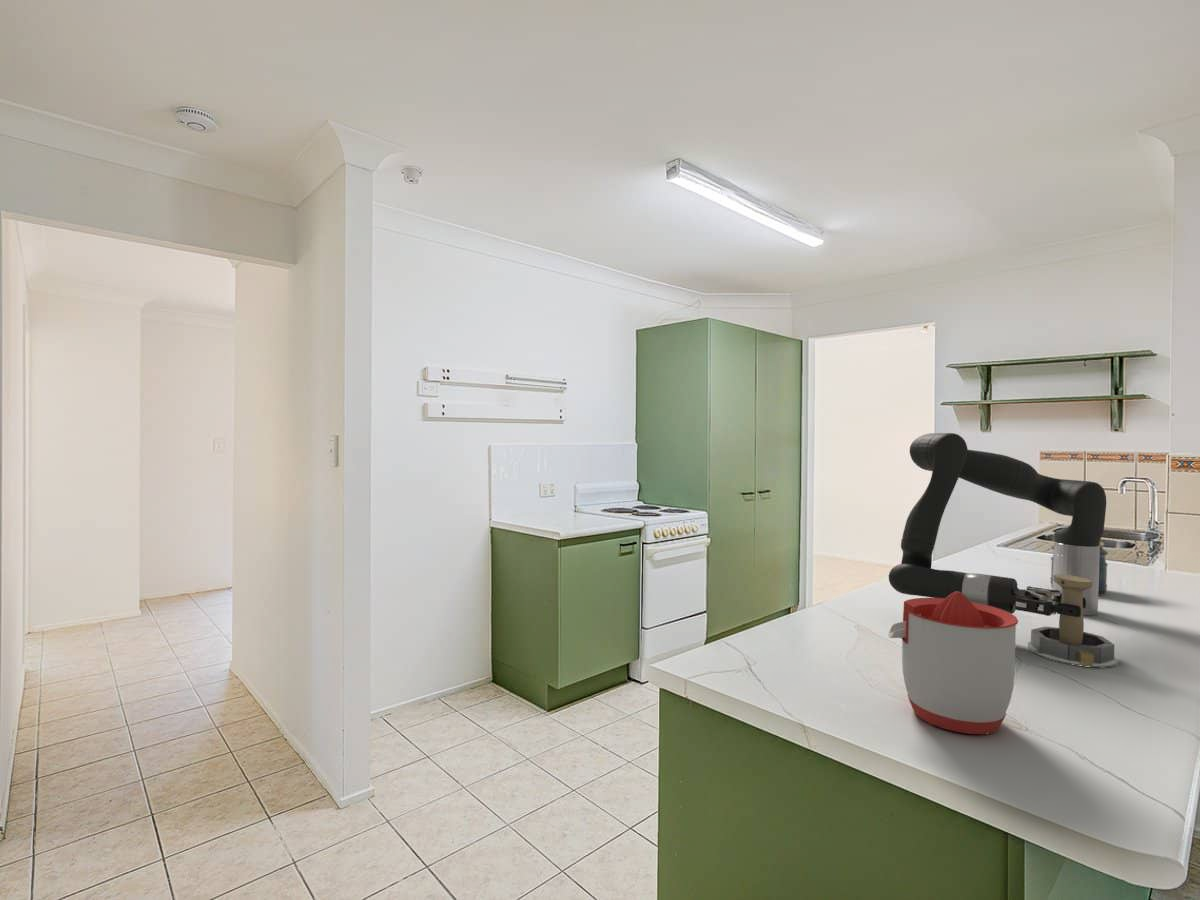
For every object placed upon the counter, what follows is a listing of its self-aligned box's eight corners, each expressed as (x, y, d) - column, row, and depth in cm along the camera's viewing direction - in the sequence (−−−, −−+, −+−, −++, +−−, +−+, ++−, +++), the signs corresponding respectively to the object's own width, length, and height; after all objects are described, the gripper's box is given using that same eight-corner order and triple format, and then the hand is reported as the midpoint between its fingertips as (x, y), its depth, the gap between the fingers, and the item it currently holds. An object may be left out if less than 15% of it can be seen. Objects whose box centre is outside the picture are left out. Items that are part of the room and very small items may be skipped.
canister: (1066, 594, 171) (1067, 532, 171) (1040, 583, 184) (1042, 525, 184) (1118, 597, 169) (1120, 534, 169) (1088, 585, 182) (1090, 527, 182)
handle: (1075, 657, 120) (1078, 582, 120) (1046, 646, 126) (1048, 574, 126) (1095, 656, 121) (1098, 581, 121) (1065, 645, 127) (1067, 574, 127)
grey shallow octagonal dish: (1017, 638, 133) (1017, 622, 133) (1096, 646, 128) (1097, 629, 128) (1042, 662, 119) (1043, 644, 119) (1132, 672, 114) (1133, 653, 114)
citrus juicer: (884, 689, 106) (887, 574, 105) (1002, 707, 99) (1005, 585, 99) (889, 728, 91) (892, 596, 91) (1027, 753, 85) (1031, 610, 84)
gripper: (982, 580, 128) (1079, 595, 117) (996, 570, 138) (1087, 582, 127) (981, 616, 128) (1078, 634, 117) (995, 603, 139) (1086, 618, 127)
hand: (1083, 607), depth 122 cm, fingers open, 8 cm apart
